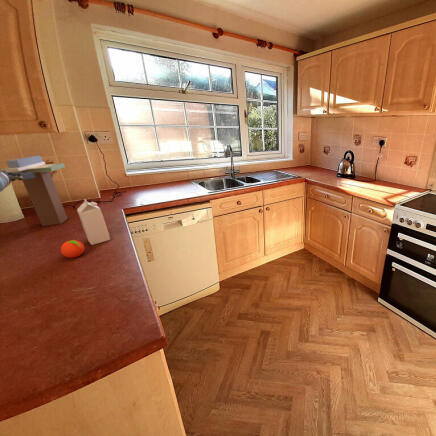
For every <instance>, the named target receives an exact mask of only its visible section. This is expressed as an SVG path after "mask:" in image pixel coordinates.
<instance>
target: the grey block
mask: <svg viewBox="0 0 436 436" xmlns="http://www.w3.org/2000/svg"><path fill="white" fill-rule="evenodd" d="M5 162H6V164H7V168H8V169H6V168H4V169H5V170H6V172H17V171H22V170H26V169H30V168H33V167H37V166H41V165H44V164H46V162H45V161H43V158H42V156H41V155H30V156H26V157H25V156H24V157H21V158H15V159H11V160H5Z"/></svg>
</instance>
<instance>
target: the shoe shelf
mask: <svg viewBox="0 0 436 436" xmlns="http://www.w3.org/2000/svg"><path fill="white" fill-rule="evenodd" d="M65 165H66V164H65V163H64V162H61V163H45V164H44V165H41V166H37V167H33V168H30V169H26V170H22V171H17V172H6V170H5V169H8V168H9V167H6V168H3V169H0V170H1V171H4V172H6V173H13V174H14V173H23V171H27V172H35V176H36V178H31V179H24V180H21V181H22V183H23V186H24V187H25V190H26V192H27V194H28V198H29V199H30V201H31V204H32V206H33V208H34V211H35V213H36V216H37V217H38V220H39V222H40V224H41V226H42V227H45V226H46V227H47V226H53V225H55V226H56V225H61V224H62V223H64V222H66V221H67V220H68V216H67V212H66V210H65V208H64V206H63V203H62V201H61V198H60V195H59V193H58V189H57V188H56V185H55V182H54V180H53V177H52V175H51V172H55V171H58V170H60V169H64V168H66V166H65Z"/></svg>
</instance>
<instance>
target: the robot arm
mask: <svg viewBox="0 0 436 436" xmlns="http://www.w3.org/2000/svg"><path fill="white" fill-rule="evenodd" d="M1 170H2V169H0V193H1V192H2V191H4V190H5V189H6V188H7V187H8V186H9V185H10V184H11V183H12V182H15V181H17V180H18V181H22V180H24V179H31V178H36V176H35V172H27V171H23V173H14V174H13V173H6V172H4V171H1Z"/></svg>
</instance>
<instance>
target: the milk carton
mask: <svg viewBox="0 0 436 436" xmlns="http://www.w3.org/2000/svg"><path fill="white" fill-rule="evenodd" d="M83 200H84V201H83V202H82V204H80V206H79V207H77V209H76V211H77V214H78V216H79V217H78V218H79V219H80V221H81V225H82V228H83V230H84V233H85V237H86V238H87V241H88V243H89V244H90V245H91V246H94V245H97V244H100V243H105V242H107V241H111V236H110V233H109V231H108V228H107V224H106V221H105V218H104V215H103V212H102V209H101V207H99V206H98V203H97V202H95V201H91V202H89V201H87V200H86V199H85V198H84V199H83Z"/></svg>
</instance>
